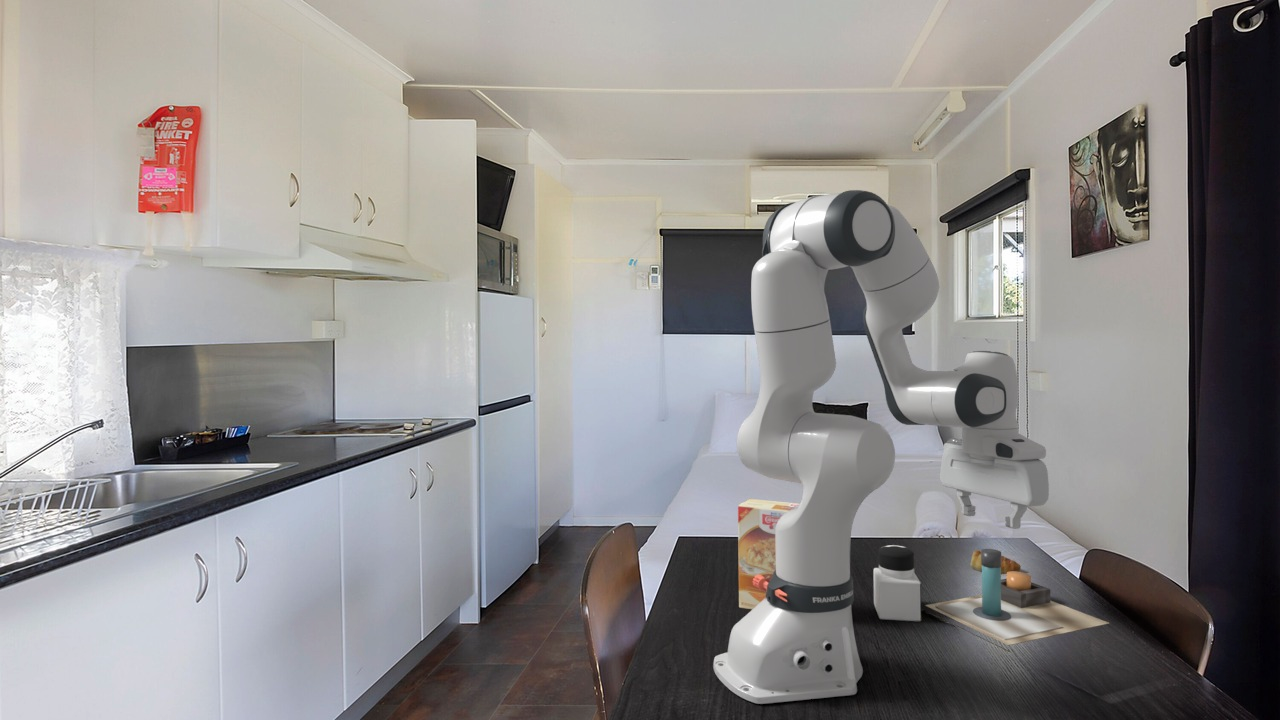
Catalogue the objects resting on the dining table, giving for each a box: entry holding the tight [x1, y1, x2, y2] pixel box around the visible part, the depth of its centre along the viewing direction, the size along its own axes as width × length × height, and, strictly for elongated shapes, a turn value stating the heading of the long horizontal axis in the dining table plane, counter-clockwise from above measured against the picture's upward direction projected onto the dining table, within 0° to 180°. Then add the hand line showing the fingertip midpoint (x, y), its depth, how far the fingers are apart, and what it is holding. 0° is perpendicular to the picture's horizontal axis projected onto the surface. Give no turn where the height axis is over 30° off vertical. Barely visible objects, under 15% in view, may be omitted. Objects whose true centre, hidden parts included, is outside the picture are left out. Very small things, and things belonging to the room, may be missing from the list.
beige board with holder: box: [924, 578, 1110, 652], centre depth 119 cm, size 23×18×4 cm
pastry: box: [969, 549, 1022, 575], centre depth 145 cm, size 9×7×4 cm
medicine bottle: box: [873, 544, 922, 622], centre depth 122 cm, size 7×7×12 cm
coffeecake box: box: [737, 498, 800, 610], centre depth 126 cm, size 15×7×20 cm, turn 62°
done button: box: [1006, 571, 1032, 591], centre depth 126 cm, size 4×4×3 cm
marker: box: [980, 548, 1002, 617], centre depth 118 cm, size 3×3×11 cm
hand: (989, 521), depth 118 cm, fingers open, 8 cm apart
